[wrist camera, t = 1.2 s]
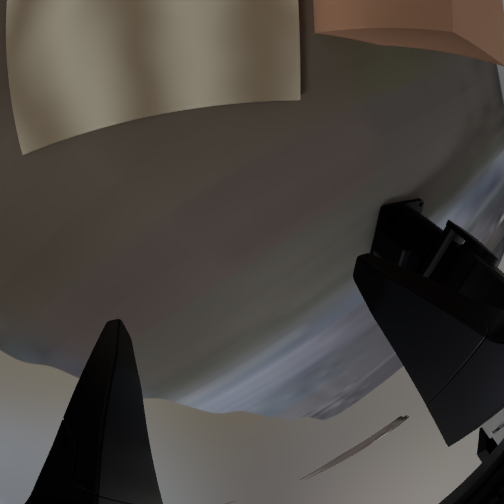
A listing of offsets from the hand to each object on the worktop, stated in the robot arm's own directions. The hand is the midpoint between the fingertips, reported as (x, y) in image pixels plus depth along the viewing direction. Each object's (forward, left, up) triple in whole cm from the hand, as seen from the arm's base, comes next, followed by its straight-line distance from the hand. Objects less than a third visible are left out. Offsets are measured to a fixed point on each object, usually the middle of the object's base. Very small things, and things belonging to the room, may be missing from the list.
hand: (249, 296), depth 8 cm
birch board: (+1, -14, -12) cm, 18 cm away
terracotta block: (-12, -13, -12) cm, 21 cm away
